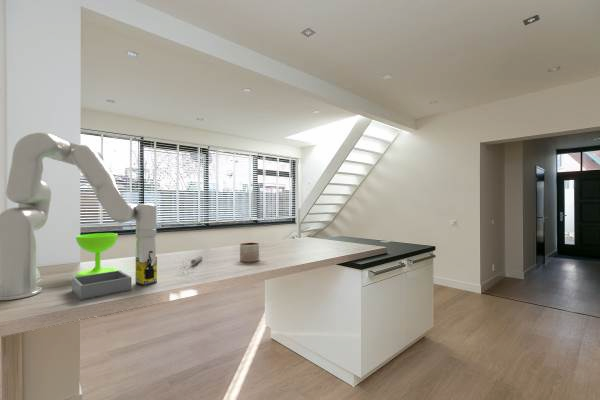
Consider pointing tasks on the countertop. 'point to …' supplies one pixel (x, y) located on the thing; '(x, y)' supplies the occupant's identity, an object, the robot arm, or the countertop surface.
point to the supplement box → (141, 273)
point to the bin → (100, 284)
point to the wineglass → (96, 249)
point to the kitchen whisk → (193, 262)
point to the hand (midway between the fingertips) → (146, 276)
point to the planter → (249, 252)
